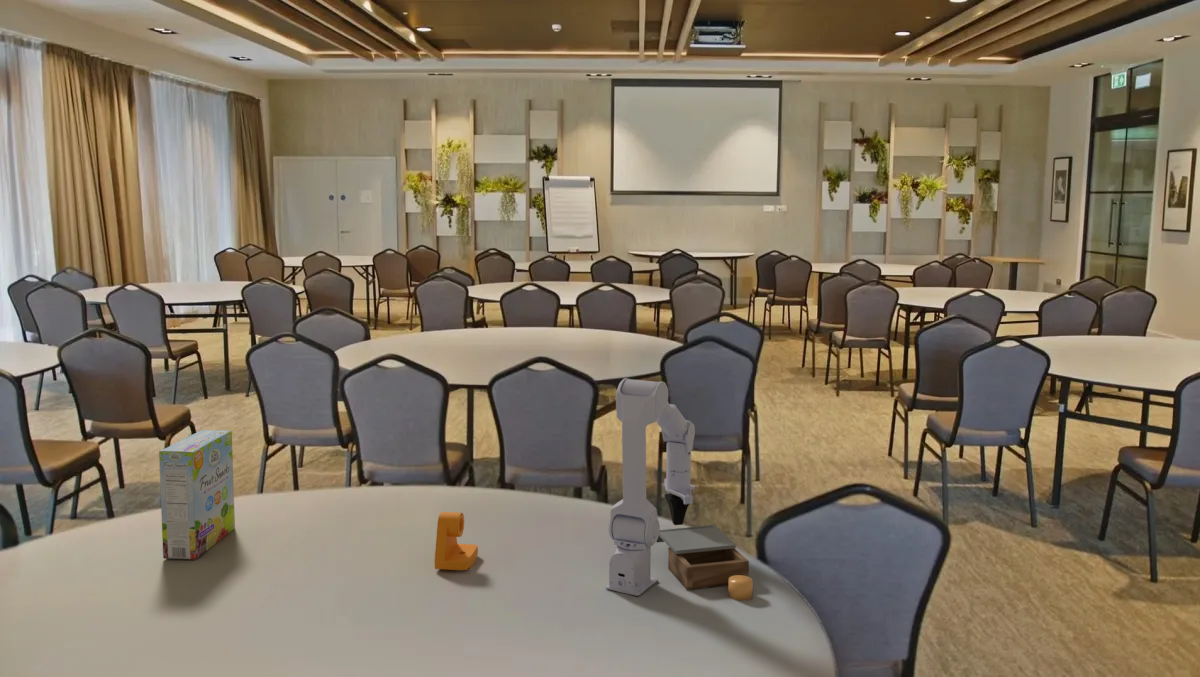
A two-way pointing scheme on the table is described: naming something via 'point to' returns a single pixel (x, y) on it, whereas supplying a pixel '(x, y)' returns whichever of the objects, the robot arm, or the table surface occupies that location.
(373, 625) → the table surface
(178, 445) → the snack box
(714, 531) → the lid
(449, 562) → the bracket
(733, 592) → the orange rounded block
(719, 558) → the box
